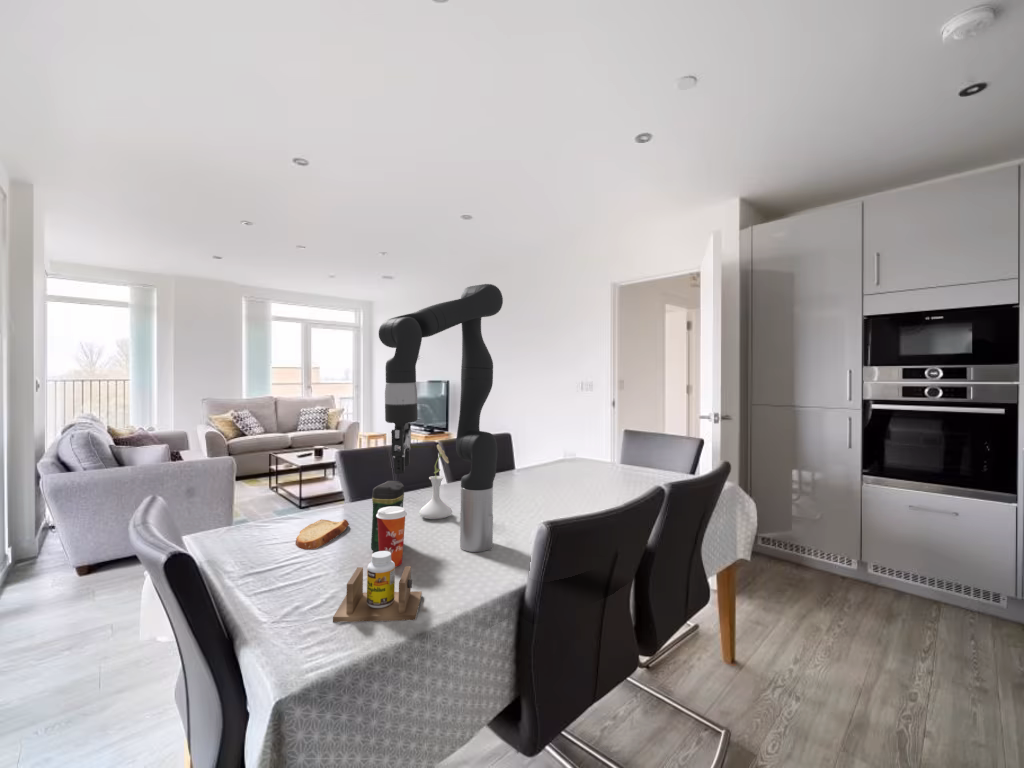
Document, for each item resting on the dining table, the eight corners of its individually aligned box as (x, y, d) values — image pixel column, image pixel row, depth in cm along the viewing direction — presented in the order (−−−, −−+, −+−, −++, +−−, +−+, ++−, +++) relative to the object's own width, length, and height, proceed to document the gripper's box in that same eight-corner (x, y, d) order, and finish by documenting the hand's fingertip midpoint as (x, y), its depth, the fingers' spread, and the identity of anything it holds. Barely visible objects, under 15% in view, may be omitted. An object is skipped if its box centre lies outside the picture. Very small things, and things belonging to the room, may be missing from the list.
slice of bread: (302, 552, 124) (302, 539, 123) (283, 535, 137) (283, 523, 137) (365, 538, 136) (365, 525, 136) (341, 523, 149) (341, 512, 149)
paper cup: (390, 572, 111) (390, 515, 111) (369, 565, 115) (369, 510, 115) (412, 561, 118) (413, 508, 118) (392, 555, 122) (392, 503, 122)
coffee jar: (394, 555, 122) (395, 487, 122) (367, 553, 123) (367, 485, 123) (407, 542, 132) (407, 479, 131) (381, 540, 132) (381, 478, 132)
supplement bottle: (361, 607, 92) (362, 557, 92) (375, 595, 97) (375, 548, 97) (386, 611, 90) (387, 560, 90) (399, 598, 96) (399, 550, 96)
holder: (421, 595, 99) (421, 564, 99) (415, 619, 89) (415, 584, 89) (347, 597, 98) (347, 565, 98) (332, 622, 88) (333, 586, 88)
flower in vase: (449, 522, 150) (450, 448, 150) (415, 521, 150) (416, 447, 150) (455, 511, 163) (456, 442, 163) (423, 510, 164) (424, 442, 163)
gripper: (413, 403, 100) (414, 476, 101) (420, 399, 114) (421, 462, 115) (379, 404, 99) (380, 477, 100) (390, 400, 114) (391, 463, 114)
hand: (402, 469), depth 107 cm, fingers open, 8 cm apart
